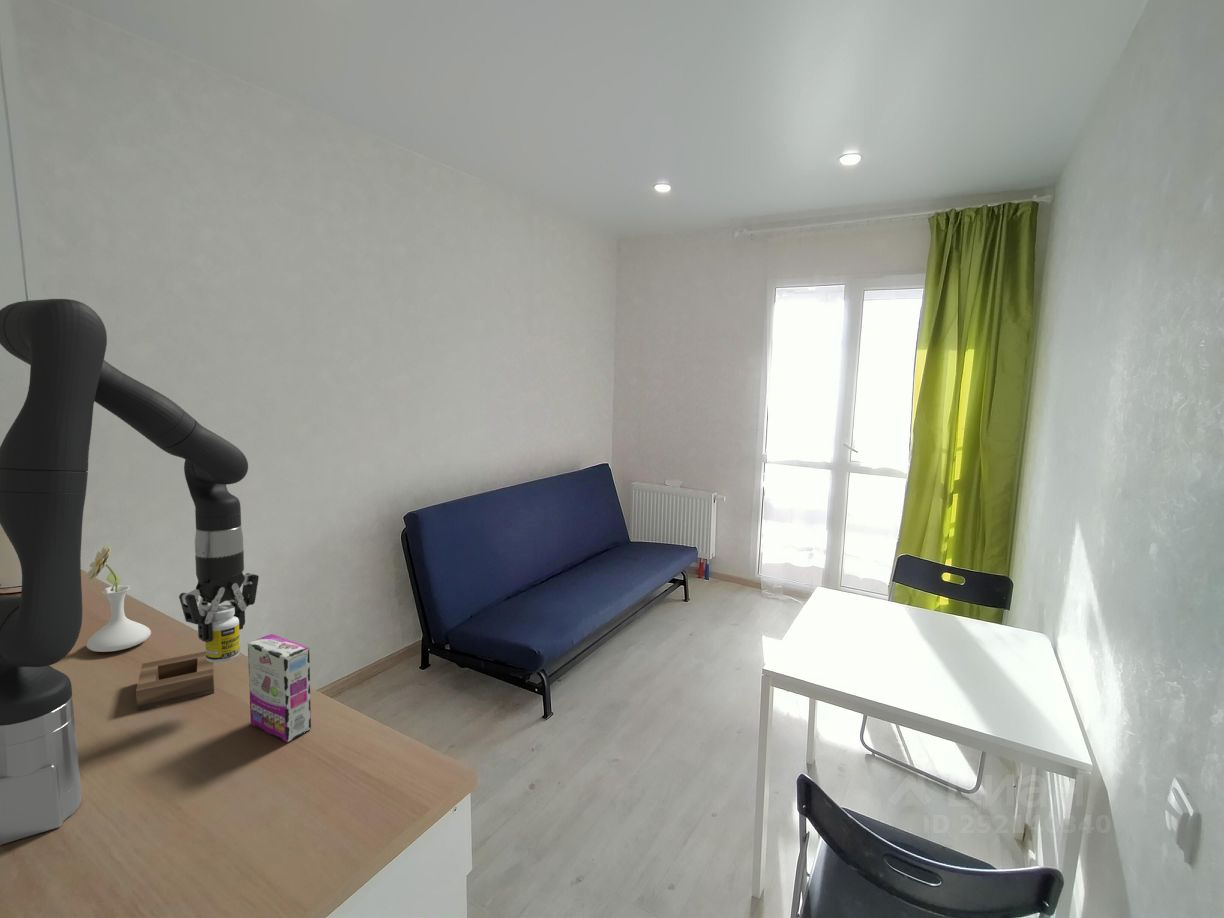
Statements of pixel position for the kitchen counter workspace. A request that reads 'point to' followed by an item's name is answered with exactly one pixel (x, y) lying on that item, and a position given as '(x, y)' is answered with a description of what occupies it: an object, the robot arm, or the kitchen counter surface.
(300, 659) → the candy bar box
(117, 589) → the flower in vase
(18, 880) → the kitchen counter surface
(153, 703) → the socket block
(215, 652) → the supplement bottle
